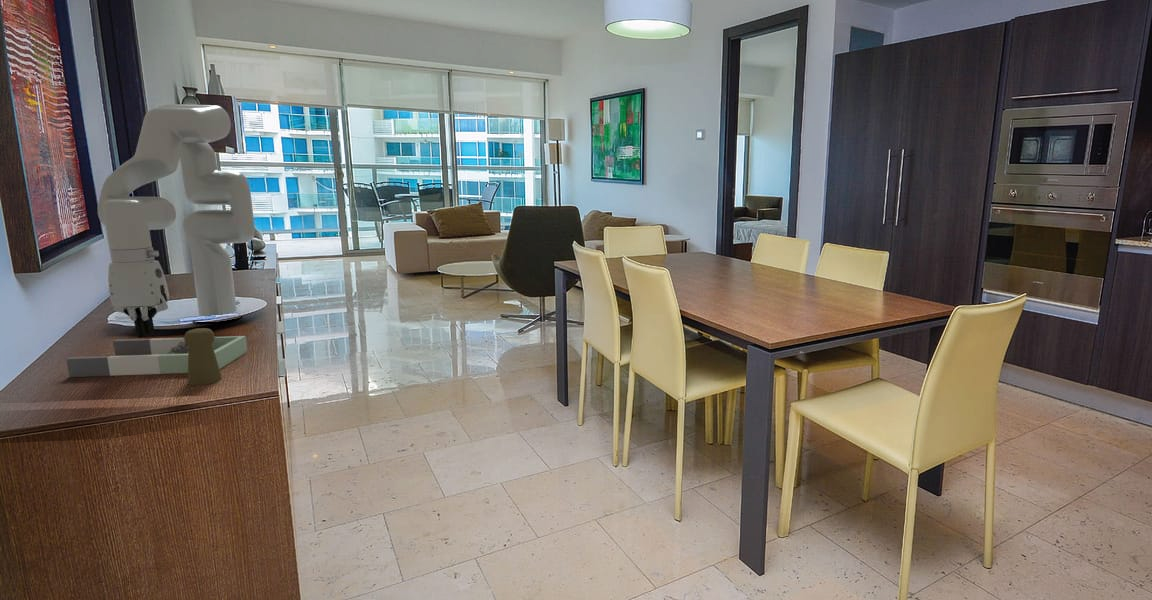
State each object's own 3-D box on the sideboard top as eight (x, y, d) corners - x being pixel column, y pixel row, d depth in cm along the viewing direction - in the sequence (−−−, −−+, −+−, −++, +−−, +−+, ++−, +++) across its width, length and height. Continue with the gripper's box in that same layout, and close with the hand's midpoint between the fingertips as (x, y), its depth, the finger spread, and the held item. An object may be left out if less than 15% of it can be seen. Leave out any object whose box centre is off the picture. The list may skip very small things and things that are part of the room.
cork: (221, 382, 120) (215, 330, 118) (186, 387, 117) (179, 334, 115) (222, 374, 125) (216, 324, 123) (188, 379, 122) (181, 327, 120)
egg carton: (197, 366, 128) (193, 349, 127) (160, 370, 127) (155, 353, 126) (217, 351, 138) (214, 335, 137) (183, 355, 137) (179, 338, 136)
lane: (118, 355, 139) (116, 339, 138) (247, 351, 142) (245, 335, 142) (69, 377, 124) (66, 358, 123) (215, 371, 127) (213, 354, 126)
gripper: (178, 253, 133) (189, 330, 137) (107, 254, 131) (121, 332, 135) (158, 258, 125) (171, 340, 129) (83, 259, 124) (99, 342, 128)
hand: (146, 336), depth 132 cm, fingers closed
